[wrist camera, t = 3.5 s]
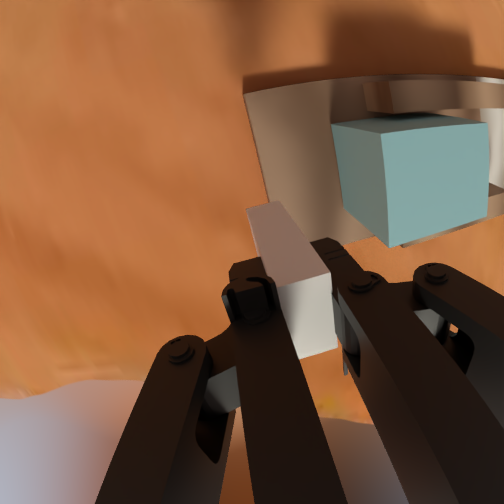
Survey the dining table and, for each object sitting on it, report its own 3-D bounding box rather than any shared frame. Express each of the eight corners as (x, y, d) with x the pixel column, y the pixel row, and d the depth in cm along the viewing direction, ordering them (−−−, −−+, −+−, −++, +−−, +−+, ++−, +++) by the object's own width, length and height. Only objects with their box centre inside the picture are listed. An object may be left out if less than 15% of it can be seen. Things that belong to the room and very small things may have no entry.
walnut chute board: (280, 255, 23) (294, 287, 19) (242, 94, 18) (250, 90, 14) (525, 186, 24) (552, 199, 20) (522, 82, 18) (552, 87, 14)
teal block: (343, 208, 21) (389, 248, 15) (330, 124, 18) (380, 133, 12) (431, 187, 21) (486, 216, 15) (425, 112, 18) (487, 123, 13)
